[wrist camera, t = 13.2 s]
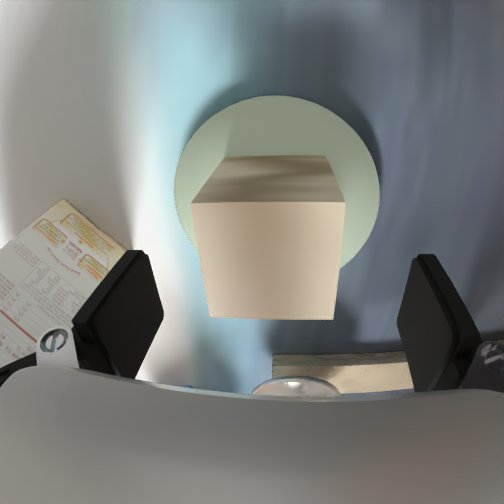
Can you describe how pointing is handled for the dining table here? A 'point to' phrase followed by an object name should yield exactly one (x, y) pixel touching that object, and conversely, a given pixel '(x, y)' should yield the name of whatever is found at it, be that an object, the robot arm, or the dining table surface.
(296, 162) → the birch block
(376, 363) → the balance scale
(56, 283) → the coffeecake box
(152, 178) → the dining table surface
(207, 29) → the dining table surface
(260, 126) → the sage dish
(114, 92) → the dining table surface
